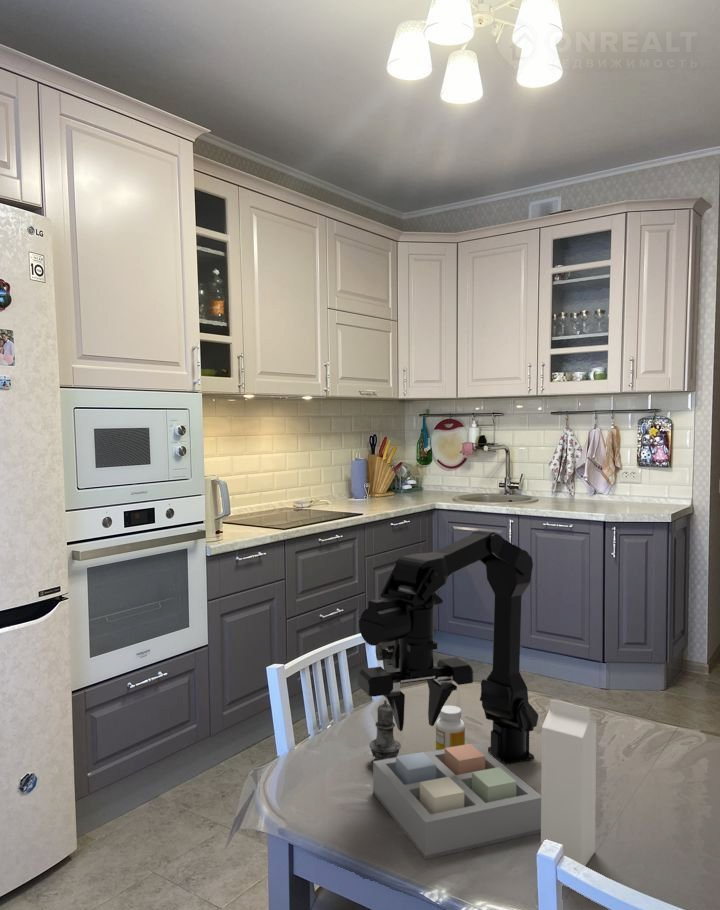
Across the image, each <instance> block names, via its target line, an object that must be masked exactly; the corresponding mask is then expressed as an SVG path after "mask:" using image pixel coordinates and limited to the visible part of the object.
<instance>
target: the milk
mask: <svg viewBox="0 0 720 910" xmlns="http://www.w3.org/2000/svg"><path fill="white" fill-rule="evenodd" d="M548 708H549V710H548V711H547V714H546V717H545V718H544V721H543V723H542V725H541V770H540V771H541V781H540V782H541V785H540V788H541V790H540V791H541V792H540V795H541V833H540V844H541V843H542V842H543V841H544V840H546V839H548V840H551V841H554V842H557V843H561V844H563V845H564V854H565V855H566V856H568V857H570V858H572V859H574V860H576V861H578V862H579V863H581V864H583V865H585V866H587V864H588V863H589V861H590V860H591V858H592V857H593V855H594V854H595V852H596V800H597V799H596V798H597V797H596V795H597V794H596V793H597V792H596V791H597V790H596V782H597V779H596V777H597V773H596V772H597V771H596V770H597V723H595V722H594V721H593V720H592V719H591V710H590V708H589V707H587V706H581V705H577V704H574V703H573V704H572V703H569V702H565V701H561V700H555V699H550V700H549V707H548Z"/></svg>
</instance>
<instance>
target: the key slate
mask: <svg viewBox="0 0 720 910" xmlns="http://www.w3.org/2000/svg"><path fill="white" fill-rule="evenodd" d="M396 776H397V777H398V778H399V779H400V781H401V782H402V783H403V784H404V785H407V784H412V783H418V782H423V781H428V780H433V779H436V764H435V763H434V762H433V761H432V760H431V759H430V758H429V757H428V756H426V755H425V754H424V751H421V752H417V753H416V752H414V753H408V754H403V755H397V756H396Z"/></svg>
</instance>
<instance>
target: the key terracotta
mask: <svg viewBox="0 0 720 910" xmlns="http://www.w3.org/2000/svg"><path fill="white" fill-rule="evenodd" d="M471 744H472V743H465V745H460V746H454V747H449V748H445V766H446V767H448V768H449V769H450V770H451V771H452V772H453V773H454V774H455V775H460V774H465V773H470V772H476V771H481V770H485V755H483V754H482V753H481V752H480V751H478V750H477V749H476V748H475V747H474V746H472V745H471Z"/></svg>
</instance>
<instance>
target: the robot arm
mask: <svg viewBox="0 0 720 910" xmlns="http://www.w3.org/2000/svg"><path fill="white" fill-rule="evenodd" d="M477 562H480V563H481V564H483V565H484V566H485V570H486V571H485V572H486V580H487V582H488V584H489V587H490V588H491V589H492V592H493V594H494V604H493V605H494V606H493V607H494V608H493V639H492V644H493V645H492V667H491V668H492V669H491V671H490V673H489V674H488V676H487V677H486V679H485V678H483V679H482V680H481V682H480V689H481V690H480V696H479V701H480V702H481V706H482V709H483V711H484V716H485V719H486V720H488V721H489V720H490V721H492V730H490V746H488V748H487V750H488V752H490V753H491V755H492V756H493V755H494V757H496V758H497V759H499V760H500V761H501V762H502V764H503V763H504V764H506V765H508V764H515V763H518V762H525V761H530V760H534V759H535V755H534V754H532V752H530V732H533V731H534V730H535V727H537V725H538V721H539V714H538V713H537V711H536V710H535V709H534V708H533V706H532V705H531V703H529V694H528V693H529V691H528V690H529V689H528V686H527V684H526V683H525V681H524V679H523V676H522V674H521V672H520V661H521V660H520V659H521V658H520V657H521V655H520V654H521V630H522V629H521V626H522V625H521V623H522V618H521V617H522V596H523V594H524V592H525V591H526V589H527V588H528V586H529V585H530V584H531V580H532V571H533V568H534V562H533V557H532V556H531V555H530V554H529V552H528V551H527V550H524V549H522V548H520V547H519V546H518V545H516V544H513V543H512V542H510V541H508V540H506V539H505V538H504V537H503V536H502V535H501V534H499V533H497V532H495V531H489V530H479V529H478V530H476V531H472V533H471V534H469V535H467V536H465V537H463V538H461V539H459V540H456V541H453V542H451V543H450V544H448V545H445V546H444V547H441V548H439V549H437V550H435V551H431V552H422V553H421V552H420V553H418V552H417V553H411V554H407V555H402V556H401V557H398V559H397V560H396V561H395V565H394V567H393V569H392V571H391V573H390V575H389V577H388V579H387V581H386V583H385V585H384V587H383V589H382V591H381V593H380V599H371V600H368V602H367V608H366V609H364V610H363V611H362V613H361V615H360V618H359V620H358V627H359V633H360V635H361V637H362V639H363V641H365V643H367V644H368V645H369V646H373V647H375V655H376V656H375V658H376V660H377V661H378V662H379V661H385V662H386V666H392V667H393V668H394V669H398V671H392V672H388V671H387V670H385V669H384V668H383V666H374V667H367V668H361V669H360V671H359V673H358V675H357V686H358V687H359V688H360V689H361V690H362V691H363V692H364V693H366V694H367V695H368V696H369V697H380V696H381V697H382V696H383V697H384V698H386V699H387V700H386V701H387V703H388V704H389V705H390V707H391V710H392V713H393V720H394V721H395V726H396V727H397V729H398V730H399V731H400V732H403V729H404V725H405V704H406V703H405V701H406V700H405V698H406V696H405V695H406V694H405V693H403V692H402V691H401V685H402V684H408V683H409V684H410V683H415V682H416V683H418V682H425V681H426V682H427V687H428V692H429V693H428V711H427V713H428V714H427V715H428V716H427V717H428V724H429V725H430V727H434V726H435V725H436V722H437V720H438V719H439V717H440V712H441V710H442V708H443V706H445V703H446V702H447V700H448V699H449V697H450V696H451V694H452V693H453V691H457V689H458V686H460V685H467V684H469V685H470V684H473V683H474V669H473V668H472V666H471V664H468V662H465V661H464V660H462V659H460V658H459V657H450V658H449V657H448V658H442V659H439V660H438V661H437V663H436V666H435V665H434V664H435V663H434V661H435V660H434V655H435V654H434V652H435V651H434V650H438V642H436V641H435V639H434V635H435V634H434V632H435V630H434V629H435V622H434V621H435V606H437V605H441V604H443V598H441V597H440V596H439V594H437V593H436V592H437V591H439V590H440V589H441V588H443V587H444V586H445V585H446V583H447V580H448V578H449V577H450V576H451V575H452V574H455V573H457V572H459V571H460V570H462V569H465V568H467V567H468V566H470V565H472V564H474V563H477ZM400 590H401V591H400ZM393 641H395V642H394V645H393V644H390V643H391V642H393ZM454 683H455V684H454ZM456 684H457V685H458V686H457V685H456Z"/></svg>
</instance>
